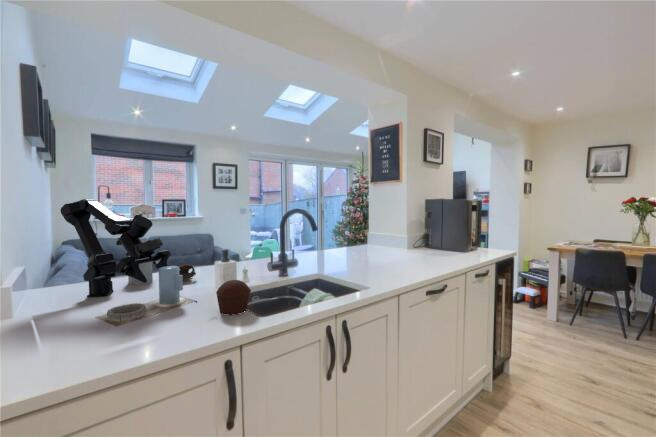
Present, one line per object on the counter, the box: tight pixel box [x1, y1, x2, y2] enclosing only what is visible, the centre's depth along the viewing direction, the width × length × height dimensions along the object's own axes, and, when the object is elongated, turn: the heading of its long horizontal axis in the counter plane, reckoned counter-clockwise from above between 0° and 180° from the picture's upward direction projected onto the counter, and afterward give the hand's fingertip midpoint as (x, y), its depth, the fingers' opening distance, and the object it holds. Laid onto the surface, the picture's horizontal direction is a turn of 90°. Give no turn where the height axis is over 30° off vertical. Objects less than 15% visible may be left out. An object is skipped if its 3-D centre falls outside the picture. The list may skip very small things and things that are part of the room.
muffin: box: [215, 279, 252, 316], centre depth 102 cm, size 12×11×10 cm
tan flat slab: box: [94, 295, 198, 327], centre depth 100 cm, size 26×13×3 cm, turn 150°
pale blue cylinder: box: [158, 265, 184, 305], centre depth 106 cm, size 9×6×12 cm
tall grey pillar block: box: [127, 256, 154, 285], centre depth 137 cm, size 10×10×12 cm
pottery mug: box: [178, 264, 197, 282], centre depth 140 cm, size 12×10×8 cm
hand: (157, 278), depth 108 cm, fingers open, 9 cm apart
